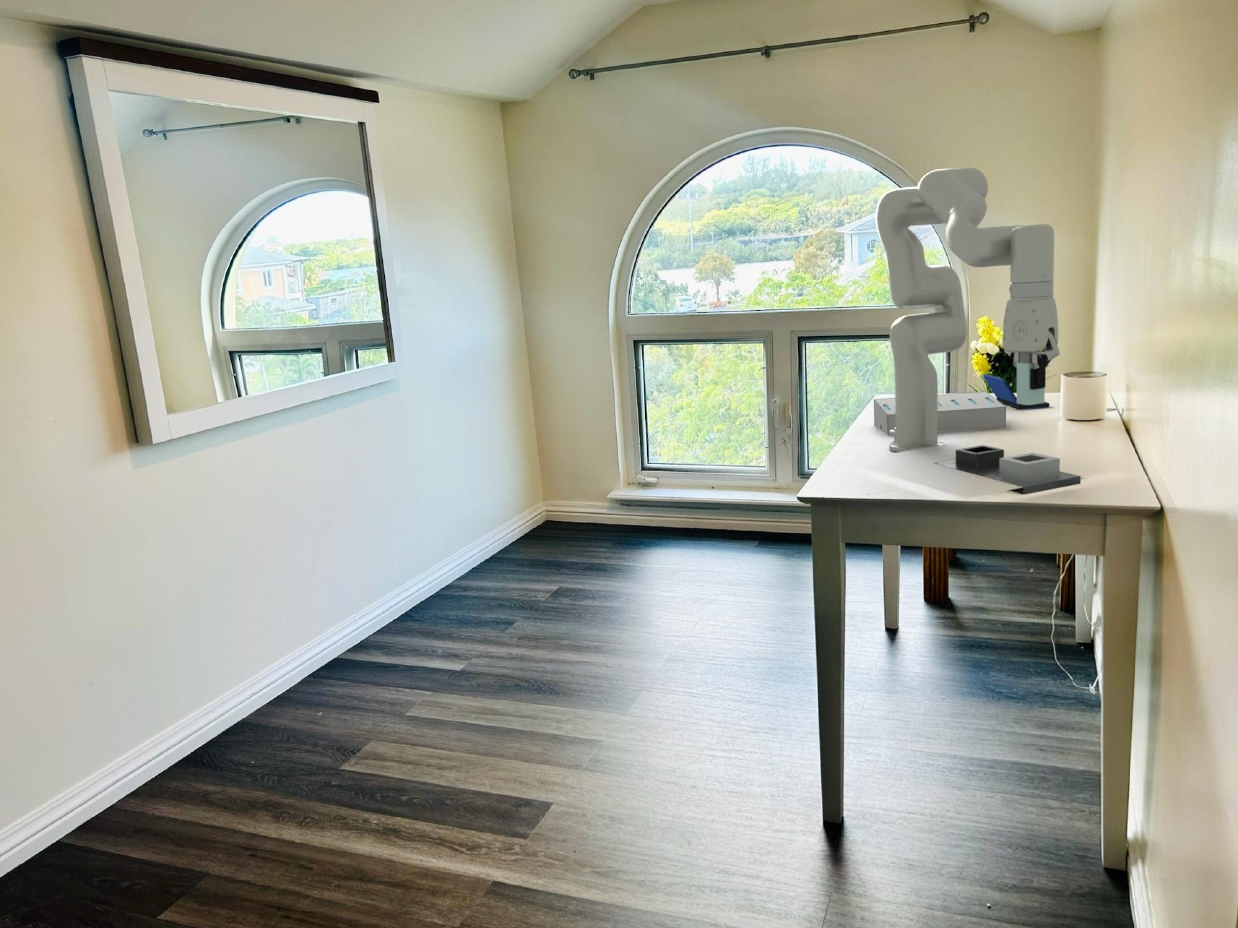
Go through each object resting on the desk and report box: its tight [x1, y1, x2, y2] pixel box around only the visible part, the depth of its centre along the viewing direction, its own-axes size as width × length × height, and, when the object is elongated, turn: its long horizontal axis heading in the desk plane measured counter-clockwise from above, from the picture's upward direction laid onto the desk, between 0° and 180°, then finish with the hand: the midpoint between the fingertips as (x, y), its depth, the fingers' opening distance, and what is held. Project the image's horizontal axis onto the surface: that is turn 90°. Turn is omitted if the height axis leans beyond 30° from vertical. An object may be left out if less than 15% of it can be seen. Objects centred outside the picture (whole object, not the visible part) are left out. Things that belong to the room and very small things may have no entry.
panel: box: [933, 444, 1082, 496], centre depth 195 cm, size 26×14×5 cm, turn 21°
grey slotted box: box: [873, 391, 1007, 436], centre depth 252 cm, size 30×14×8 cm, turn 89°
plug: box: [1016, 352, 1046, 405], centre depth 185 cm, size 3×4×10 cm
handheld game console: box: [982, 373, 1050, 411], centre depth 273 cm, size 16×13×9 cm
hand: (1030, 386), depth 185 cm, fingers closed on plug, 2 cm apart
